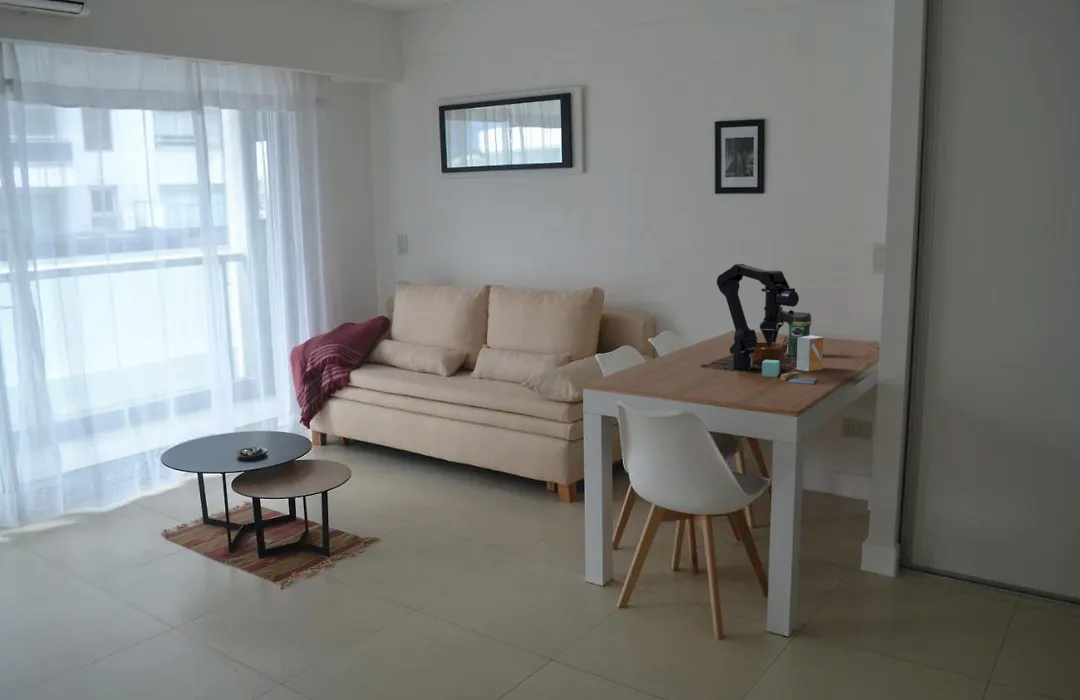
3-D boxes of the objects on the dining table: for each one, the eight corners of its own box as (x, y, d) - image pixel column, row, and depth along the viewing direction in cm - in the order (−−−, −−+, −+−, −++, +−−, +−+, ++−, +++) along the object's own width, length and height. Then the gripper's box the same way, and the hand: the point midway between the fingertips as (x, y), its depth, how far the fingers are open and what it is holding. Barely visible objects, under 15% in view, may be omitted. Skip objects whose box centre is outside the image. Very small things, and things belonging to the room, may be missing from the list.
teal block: (761, 376, 343) (762, 362, 342) (764, 373, 348) (765, 359, 347) (776, 377, 341) (776, 363, 340) (779, 374, 346) (779, 360, 345)
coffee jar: (812, 354, 385) (813, 311, 382) (807, 357, 378) (809, 314, 375) (789, 353, 390) (791, 310, 387) (784, 356, 383) (786, 313, 380)
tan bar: (784, 380, 334) (784, 375, 334) (780, 379, 336) (780, 374, 335) (798, 377, 338) (799, 372, 338) (794, 377, 340) (794, 371, 340)
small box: (808, 372, 349) (809, 338, 347) (796, 369, 354) (797, 337, 352) (822, 369, 353) (823, 336, 351) (809, 367, 358) (810, 334, 356)
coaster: (787, 382, 330) (787, 381, 330) (791, 378, 338) (791, 377, 338) (812, 384, 326) (812, 383, 326) (816, 379, 334) (816, 378, 334)
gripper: (790, 308, 328) (789, 349, 331) (798, 301, 345) (797, 341, 348) (760, 306, 333) (758, 348, 335) (769, 300, 349) (768, 340, 352)
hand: (771, 344), depth 343 cm, fingers open, 9 cm apart
